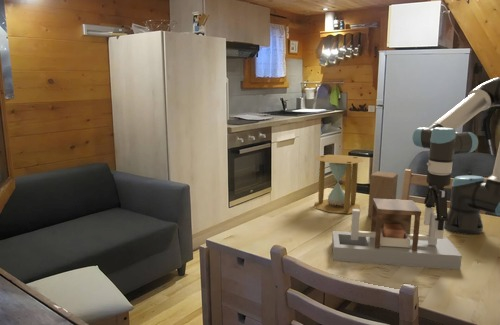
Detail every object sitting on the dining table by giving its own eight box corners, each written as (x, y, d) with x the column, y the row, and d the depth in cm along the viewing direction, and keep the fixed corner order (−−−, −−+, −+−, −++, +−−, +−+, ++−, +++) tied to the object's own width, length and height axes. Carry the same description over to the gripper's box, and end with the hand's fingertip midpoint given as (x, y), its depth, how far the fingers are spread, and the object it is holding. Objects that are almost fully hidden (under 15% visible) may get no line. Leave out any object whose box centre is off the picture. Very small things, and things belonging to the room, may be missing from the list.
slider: (432, 239, 153) (434, 210, 150) (439, 249, 143) (442, 219, 141) (350, 234, 157) (351, 205, 155) (352, 243, 148) (353, 214, 146)
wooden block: (394, 214, 197) (398, 173, 193) (389, 220, 189) (392, 177, 185) (373, 210, 202) (376, 170, 198) (367, 216, 194) (370, 174, 190)
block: (399, 239, 153) (400, 224, 152) (402, 246, 147) (404, 230, 146) (382, 238, 154) (383, 223, 152) (385, 245, 148) (386, 229, 147)
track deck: (446, 250, 156) (447, 238, 155) (460, 269, 140) (461, 255, 139) (332, 243, 162) (332, 231, 161) (333, 260, 147) (334, 247, 146)
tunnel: (409, 237, 156) (412, 199, 153) (417, 251, 142) (421, 211, 140) (370, 234, 158) (372, 197, 155) (375, 248, 145) (378, 209, 142)
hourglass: (366, 204, 212) (369, 156, 207) (353, 217, 193) (356, 164, 188) (323, 197, 223) (325, 152, 218) (306, 208, 205) (307, 159, 200)
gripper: (419, 165, 156) (413, 219, 160) (437, 180, 131) (431, 243, 136) (440, 166, 154) (434, 220, 159) (463, 181, 130) (455, 245, 134)
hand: (432, 231), depth 147 cm, fingers open, 13 cm apart
